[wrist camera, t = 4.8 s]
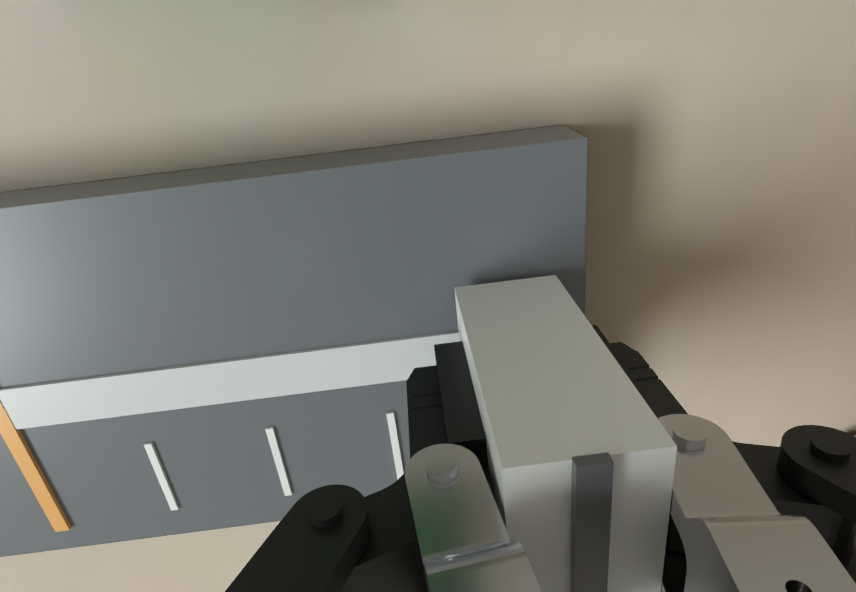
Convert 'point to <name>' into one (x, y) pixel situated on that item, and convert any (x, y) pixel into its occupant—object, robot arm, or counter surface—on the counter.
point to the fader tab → (566, 440)
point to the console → (251, 324)
